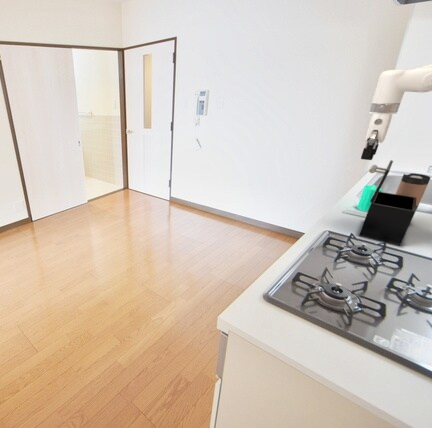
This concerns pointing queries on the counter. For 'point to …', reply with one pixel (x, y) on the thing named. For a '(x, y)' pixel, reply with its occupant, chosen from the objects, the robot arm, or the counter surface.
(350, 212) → the counter surface
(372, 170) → the black hinged box lid
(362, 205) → the candle
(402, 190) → the travel mug
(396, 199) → the black flip-top box
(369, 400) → the counter surface
